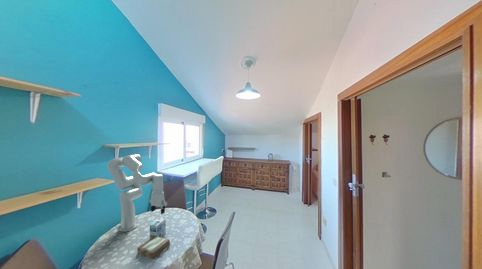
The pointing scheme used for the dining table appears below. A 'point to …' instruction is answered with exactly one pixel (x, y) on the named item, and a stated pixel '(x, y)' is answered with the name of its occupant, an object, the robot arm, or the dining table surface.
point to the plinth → (153, 247)
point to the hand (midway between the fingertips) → (157, 212)
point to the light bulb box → (158, 227)
